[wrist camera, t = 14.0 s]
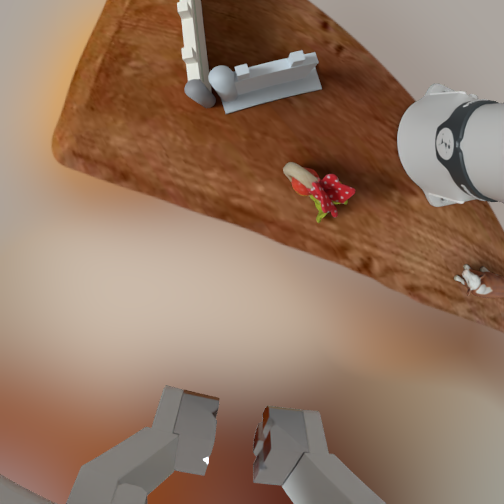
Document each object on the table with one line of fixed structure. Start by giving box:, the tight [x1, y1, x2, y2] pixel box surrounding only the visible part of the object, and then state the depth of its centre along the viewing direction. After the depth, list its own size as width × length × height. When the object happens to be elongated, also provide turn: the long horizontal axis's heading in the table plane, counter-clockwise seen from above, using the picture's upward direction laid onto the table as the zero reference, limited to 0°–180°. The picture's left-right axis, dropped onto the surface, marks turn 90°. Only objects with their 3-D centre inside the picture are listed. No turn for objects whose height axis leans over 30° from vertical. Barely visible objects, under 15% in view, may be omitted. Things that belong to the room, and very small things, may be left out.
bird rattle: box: [283, 162, 355, 223], centre depth 38 cm, size 6×11×9 cm
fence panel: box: [177, 0, 216, 108], centre depth 30 cm, size 18×2×12 cm, turn 7°
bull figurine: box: [454, 264, 504, 298], centre depth 43 cm, size 4×13×8 cm, turn 76°
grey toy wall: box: [208, 51, 322, 114], centre depth 32 cm, size 13×5×12 cm, turn 107°
